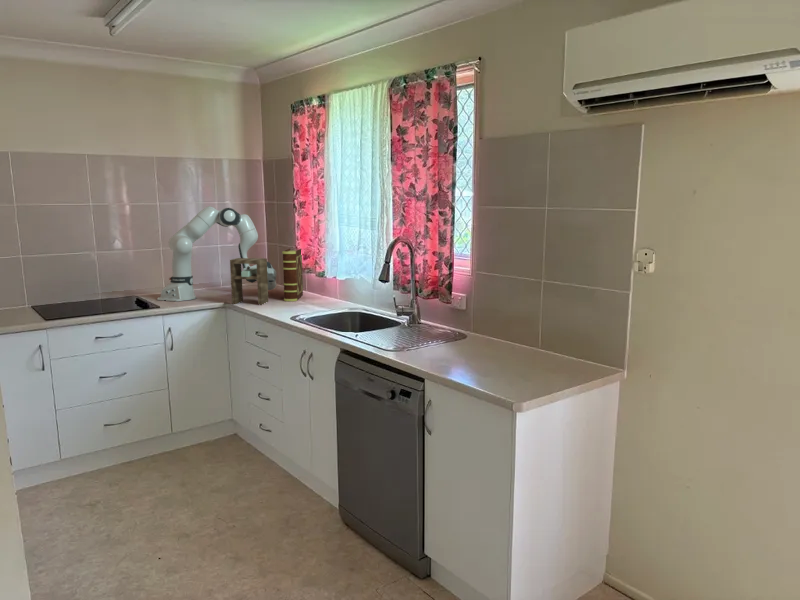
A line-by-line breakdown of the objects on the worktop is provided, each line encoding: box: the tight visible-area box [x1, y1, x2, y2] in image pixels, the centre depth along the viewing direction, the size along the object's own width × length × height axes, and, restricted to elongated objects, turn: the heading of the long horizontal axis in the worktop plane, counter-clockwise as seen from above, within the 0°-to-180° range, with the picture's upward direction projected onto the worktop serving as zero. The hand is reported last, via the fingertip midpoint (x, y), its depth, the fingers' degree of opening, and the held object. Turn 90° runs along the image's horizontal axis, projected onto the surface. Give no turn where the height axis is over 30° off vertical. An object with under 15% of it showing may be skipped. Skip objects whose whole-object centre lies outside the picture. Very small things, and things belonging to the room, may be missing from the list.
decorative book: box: [281, 248, 304, 302], centre depth 363 cm, size 22×8×30 cm, turn 179°
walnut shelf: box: [229, 257, 269, 306], centre depth 347 cm, size 18×11×26 cm, turn 82°
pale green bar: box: [241, 268, 257, 277], centre depth 349 cm, size 4×19×3 cm, turn 172°
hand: (255, 267), depth 355 cm, fingers open, 8 cm apart
